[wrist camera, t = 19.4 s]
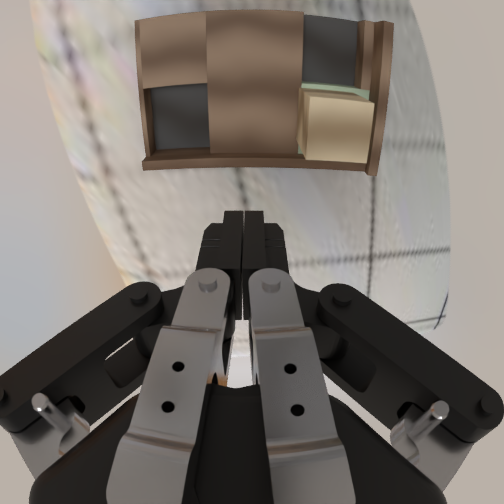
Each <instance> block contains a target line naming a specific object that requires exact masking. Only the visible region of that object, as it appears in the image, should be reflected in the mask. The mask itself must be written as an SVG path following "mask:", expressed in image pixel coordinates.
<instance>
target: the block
mask: <svg viewBox="0 0 504 504" xmlns="http://www.w3.org/2000/svg"><path fill="white" fill-rule="evenodd" d="M374 104H375V103H373V102H371V101H369V100H367V99H365V98H363V97H361V96H359V95H357V94H355V93H352V92H343V91H334V90H323V89H310V88H299V97H298V118H297V136H296V140H297V142H298V144H299V146H300V149H301V151H302V153H303V155H304V157H305V159H306V160H323V161H341V162H355V163H367V157H368V150H369V144H370V136H371V129H372V121H373V113H374Z"/></svg>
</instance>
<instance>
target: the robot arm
mask: <svg viewBox="0 0 504 504" xmlns="http://www.w3.org/2000/svg"><path fill="white" fill-rule="evenodd" d="M242 295H243V317H244V320H249V346H250V358H251V370H252V381H253V385H251V386H246V387H242V388H230V387H227V380H228V372H229V366H230V359H231V353H232V346H233V339H234V335H233V333H234V331H235V320H242ZM131 338H133V340H132V341H130V342H129V343H128V344H127V345H125V346H124V347H122V348H121V349H120V350H118V351H117V352H116V353H114V354H113V355H112V356H110V357H109V358H108V359H107V360H105V359H106V358H107V357H108V356H109V355H110V354H111V353H112V352H114V351H115V350H117V349H118V348H119V347H121V346H122V345H123V344H124V343H126V342H127V341H128V340H130V339H131ZM323 373H324V374H325V375H326V376H327V377H328V378H330V379H331V380H332V381H333V382H334V383H335V384H336V385H338V386H339V387H340V388H341V389H342V390H343V391H345V392H346V393H347V394H348V395H349V396H350V397H352V398H353V399H354V400H355V401H356V402H358V403H359V404H360V405H361V406H362V407H363V408H365V409H366V410H367V411H368V412H369V413H370V414H372V415H373V416H374V417H375V418H376V419H378V420H379V421H380V422H381V423H382V424H384V425H385V426H386V427H387V428H389V429H390V430H391V433H390V441H391V444H392V446H391V445H390V444H389V443H388V442H387V441H386V440H384V439H383V438H382V437H381V436H380V435H379V434H378V433H376V431H374V430H373V429H372V428H371V427H370V426H369V425H368V424H367V423H365V421H363V420H362V419H361V418H360V417H359V416H358V415H357V414H356V413H354V411H353V410H351V409H350V408H349V407H348V406H347V405H346V404H344V403H343V402H342V401H340V400H338V399H337V398H335V397H333V396H331V395H329V394H328V392H327V388H326V384H325V380H324V376H323ZM140 385H142V387H141V391H140V393H139V394H137V395H135V396H134V397H132V398H131V399H129V400H128V401H126V402H125V403H124V404H123V405H122V406H121V407H119V408H118V409H117V410H116V411H115V412H114V413H113V414H111V415H110V416H109V417H108V418H107V419H106V420H104V421H103V422H102V423H101V424H100V425H99V426H97V427H96V428H95V429H94V430H93V431H92V432H90V426H91V425H92V424H93V423H95V422H96V421H97V420H98V419H100V418H101V417H102V416H104V415H105V414H106V413H107V412H109V411H110V410H111V409H112V408H114V407H115V406H116V405H117V404H119V403H120V402H121V401H122V400H124V399H125V398H126V397H127V396H129V395H130V394H131V393H132V392H133V391H135V390H136V389H137V388H138V387H140ZM503 415H504V405H503V401H502V399H501V397H500V395H499V394H498V393H497V392H496V391H495V390H494V389H493V388H491V387H490V386H489V385H487V384H486V383H485V382H483V381H482V380H481V379H479V378H478V377H477V376H475V375H474V374H473V373H471V372H470V371H469V370H467V369H466V368H465V367H463V366H462V365H461V364H459V363H458V362H457V361H455V360H454V359H453V358H451V357H450V356H449V355H447V354H446V353H445V352H443V351H442V350H440V349H439V348H438V347H436V346H435V345H434V344H432V343H431V342H430V341H428V340H427V339H425V338H424V337H423V336H421V335H420V334H418V333H417V332H416V331H414V330H413V329H412V328H410V327H409V326H407V325H406V324H405V323H403V322H402V321H400V320H399V319H398V318H396V317H395V316H393V315H392V314H391V313H389V312H388V311H386V310H385V309H383V308H382V307H381V306H379V305H378V304H376V303H375V302H374V301H372V300H371V299H369V298H368V297H366V296H365V295H364V294H362V293H361V292H359V291H358V290H356V289H355V288H353V287H351V286H349V285H346V284H339V283H336V284H330V285H327V286H326V287H324V288H323V289H322V290H321V291H320V292H316V291H311V290H308V289H305V288H302V287H300V286H298V285H297V284H296V283H295V282H294V281H293V279H292V277H291V276H290V275H289V269H288V261H287V254H286V248H285V241H284V233H283V230H282V229H281V228H280V226H279V225H278V224H277V223H264V214H263V211H245V219H244V215H243V211H225V212H224V219H223V223H211V224H210V225H209V226H208V227H207V228H206V229H205V230H204V234H203V239H202V243H201V248H200V252H199V256H198V261H197V265H196V270H195V272H193V273H192V274H191V275H189V277H188V278H187V280H186V282H185V285H184V286H182V287H179V288H177V289H173V290H168V291H164V292H161V291H160V289H159V287H158V286H157V285H155V284H153V283H151V282H137V283H133V284H131V285H129V286H127V287H126V288H124V289H123V290H121V291H120V292H118V293H117V294H115V295H114V296H112V297H111V298H109V299H108V300H106V301H105V302H104V303H102V304H101V305H99V306H98V307H96V308H95V309H93V310H92V311H90V312H89V313H87V314H86V315H84V316H83V317H82V318H80V319H79V320H78V321H76V322H74V323H73V324H71V325H70V326H69V327H67V328H66V329H64V330H63V331H61V332H60V333H59V334H57V335H56V336H54V337H53V338H52V339H50V340H49V341H47V342H46V343H45V344H43V345H42V346H40V347H39V348H38V349H36V350H35V351H33V352H32V353H31V354H29V355H28V356H27V357H25V358H24V359H22V360H21V361H20V362H19V363H17V364H16V365H14V366H13V367H12V368H10V369H9V370H8V371H6V372H5V373H4V374H2V375H1V376H0V425H1V426H2V427H3V428H4V429H5V430H6V431H7V432H8V433H10V435H11V436H12V439H13V441H14V443H15V444H16V446H17V448H18V450H19V452H20V454H21V456H22V458H23V459H24V461H25V463H26V465H27V466H28V468H29V470H30V472H31V473H32V475H33V476H34V478H35V482H34V484H33V486H32V488H31V491H30V497H29V504H447V502H446V498H445V497H444V494H443V491H444V490H445V488H446V487H447V485H448V484H449V482H450V481H451V479H452V478H453V477H454V475H455V474H456V472H457V471H458V469H459V467H460V466H461V464H462V463H463V461H464V460H465V458H466V456H467V454H468V453H469V451H470V450H471V448H472V446H473V445H474V443H476V442H477V441H478V440H480V439H481V438H482V437H484V436H485V435H486V434H488V433H489V432H490V431H492V430H493V429H494V428H495V427H497V426H498V425H499V424H500V422H501V421H502V419H503Z"/></svg>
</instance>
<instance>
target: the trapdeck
mask: <svg viewBox="0 0 504 504" xmlns="http://www.w3.org/2000/svg"><path fill="white" fill-rule="evenodd" d="M393 30H394V23H391V22H387V21H379V22H371V21H366V20H364V21H359V22H356V21H350V20H344V19H337V18H330V17H322V16H312V15H304V12H298V11H282V10H220V11H203V12H192V13H182V14H174V15H166V16H160V17H153V18H147V19H142V20H136V21H135V43H136V62H137V76H138V89H139V100H140V110H141V120H142V128H143V137H144V145H145V153H146V157H145V159H144V160H143V161H142V167H143V171H145V170H161V169H182V168H216V167H279V168H312V169H333V170H350V171H364V172H366V174H367V175H370V176H377V171H378V165H379V159H380V153H381V147H382V141H383V134H384V127H385V119H386V112H387V103H388V95H389V85H390V74H391V63H392V48H393ZM299 88H310V89H323V90H334V91H343V92H352V93H355V94H357V95H359V96H361V97H363V98H365V99H367V100H369V101H371V102H373V103H375V104H374V113H373V121H372V129H371V136H370V144H369V150H368V157H367V163H355V162H341V161H323V160H306V159H305V157H304V155H303V153H302V151H301V149H300V146H299V144H298V142H297V140H296V136H297V118H298V97H299Z"/></svg>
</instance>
